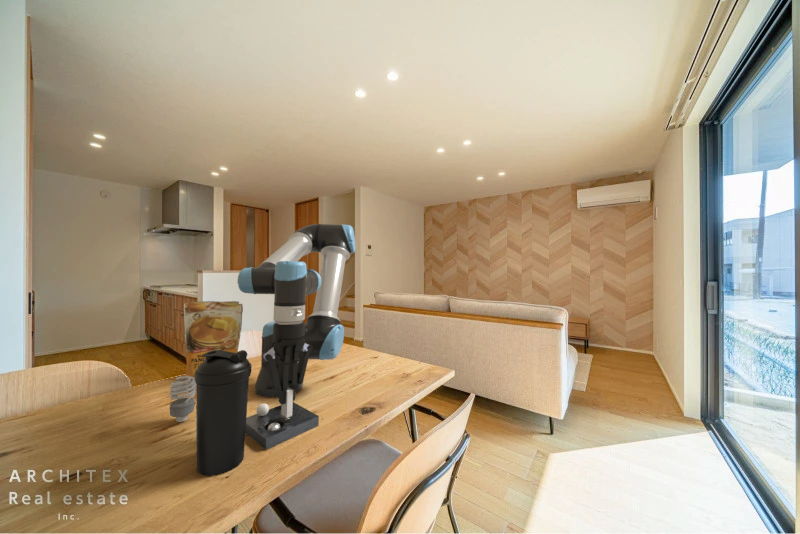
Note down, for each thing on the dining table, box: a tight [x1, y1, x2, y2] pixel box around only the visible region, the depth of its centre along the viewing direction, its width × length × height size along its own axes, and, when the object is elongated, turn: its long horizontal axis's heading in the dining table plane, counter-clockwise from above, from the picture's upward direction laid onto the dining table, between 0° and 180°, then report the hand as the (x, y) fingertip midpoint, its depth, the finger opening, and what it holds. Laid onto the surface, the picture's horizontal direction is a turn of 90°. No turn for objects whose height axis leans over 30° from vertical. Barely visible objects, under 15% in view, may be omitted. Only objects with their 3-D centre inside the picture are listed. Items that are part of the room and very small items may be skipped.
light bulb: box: [169, 375, 197, 423], centre depth 76 cm, size 6×6×12 cm
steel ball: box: [267, 422, 281, 431], centre depth 71 cm, size 3×3×3 cm
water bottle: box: [194, 349, 252, 477], centre depth 61 cm, size 10×10×23 cm
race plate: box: [245, 401, 320, 451], centre depth 75 cm, size 13×14×2 cm
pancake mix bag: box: [182, 300, 244, 381], centre depth 109 cm, size 7×19×28 cm, turn 115°
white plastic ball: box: [256, 403, 270, 416], centre depth 76 cm, size 3×3×3 cm
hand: (286, 414), depth 74 cm, fingers closed
